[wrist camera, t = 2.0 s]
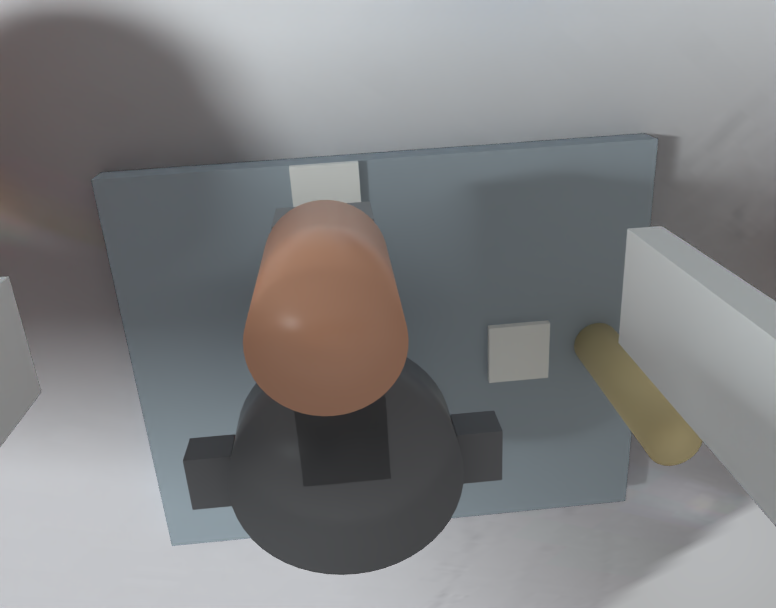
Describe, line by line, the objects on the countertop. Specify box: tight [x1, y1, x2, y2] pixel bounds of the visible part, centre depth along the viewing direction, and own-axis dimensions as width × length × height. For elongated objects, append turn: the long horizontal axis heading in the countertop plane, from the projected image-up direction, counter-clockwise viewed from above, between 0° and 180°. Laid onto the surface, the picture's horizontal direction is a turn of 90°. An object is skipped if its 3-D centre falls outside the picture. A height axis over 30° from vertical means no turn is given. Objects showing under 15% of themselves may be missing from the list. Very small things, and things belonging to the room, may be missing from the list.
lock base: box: [91, 133, 702, 546], centre depth 25 cm, size 20×16×8 cm
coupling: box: [183, 200, 503, 575], centre depth 19 cm, size 12×10×7 cm
